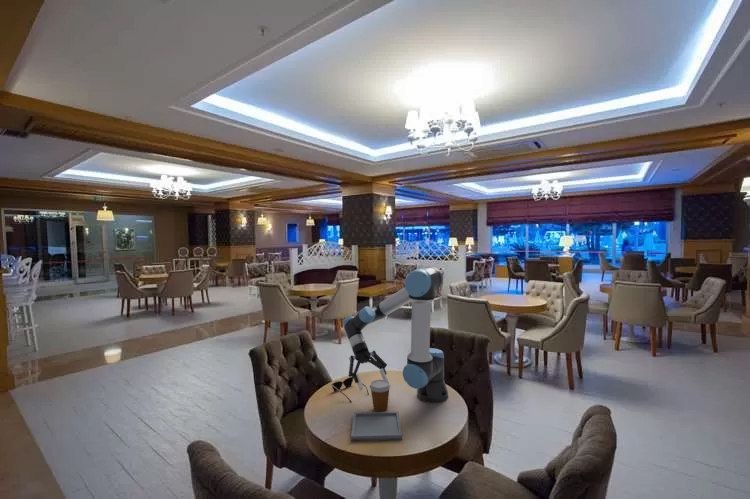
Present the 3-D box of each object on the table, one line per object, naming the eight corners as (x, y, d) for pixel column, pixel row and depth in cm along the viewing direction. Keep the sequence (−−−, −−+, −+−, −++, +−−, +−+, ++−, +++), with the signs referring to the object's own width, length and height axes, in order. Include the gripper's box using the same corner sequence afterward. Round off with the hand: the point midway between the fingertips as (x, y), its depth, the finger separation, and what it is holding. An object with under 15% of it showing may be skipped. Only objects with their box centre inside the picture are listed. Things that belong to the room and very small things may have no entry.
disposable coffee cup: (389, 415, 157) (388, 388, 157) (368, 413, 159) (367, 387, 159) (392, 404, 167) (391, 379, 166) (372, 403, 169) (371, 378, 168)
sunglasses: (353, 385, 190) (353, 376, 190) (371, 397, 178) (371, 387, 177) (331, 392, 182) (331, 383, 181) (348, 406, 169) (348, 396, 169)
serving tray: (398, 415, 157) (398, 411, 157) (402, 439, 138) (402, 434, 138) (353, 416, 157) (353, 412, 156) (351, 441, 138) (351, 436, 138)
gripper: (377, 344, 187) (393, 382, 175) (333, 353, 174) (347, 395, 162) (382, 337, 182) (399, 375, 170) (338, 346, 170) (352, 388, 157)
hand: (374, 385), depth 166 cm, fingers open, 13 cm apart
